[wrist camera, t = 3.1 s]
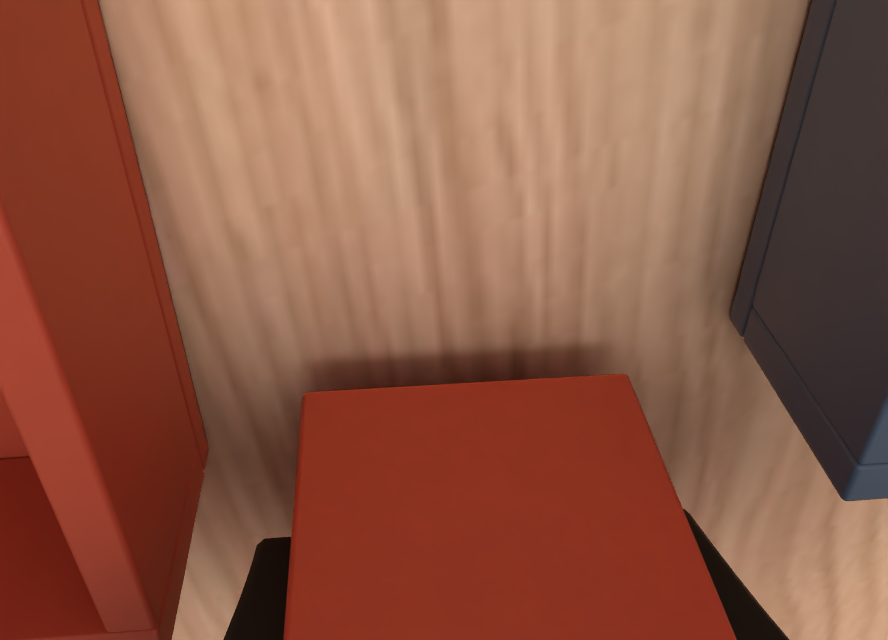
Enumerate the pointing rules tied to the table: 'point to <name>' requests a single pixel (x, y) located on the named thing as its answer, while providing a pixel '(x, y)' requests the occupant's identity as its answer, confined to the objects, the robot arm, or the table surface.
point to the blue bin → (828, 249)
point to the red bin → (85, 352)
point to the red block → (491, 518)
